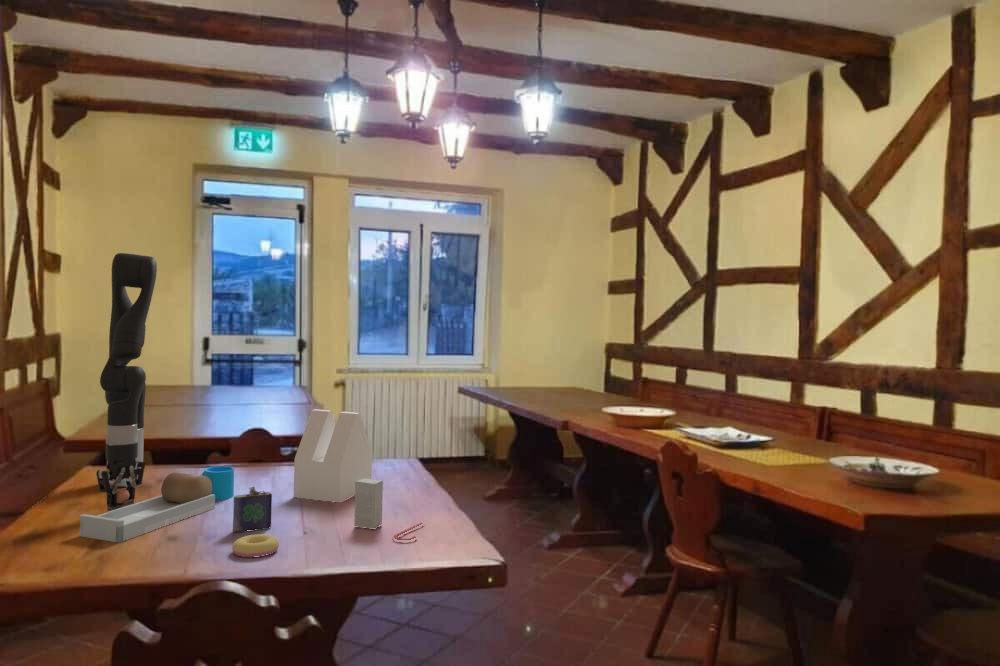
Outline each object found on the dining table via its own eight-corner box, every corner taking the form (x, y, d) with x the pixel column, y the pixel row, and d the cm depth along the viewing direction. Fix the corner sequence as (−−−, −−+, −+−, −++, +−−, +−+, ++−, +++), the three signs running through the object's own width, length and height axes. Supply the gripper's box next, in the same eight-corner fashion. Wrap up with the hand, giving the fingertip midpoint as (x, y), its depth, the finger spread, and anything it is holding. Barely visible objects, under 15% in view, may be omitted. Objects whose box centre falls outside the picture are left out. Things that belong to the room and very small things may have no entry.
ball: (108, 504, 186) (108, 489, 186) (121, 500, 190) (121, 486, 190) (120, 506, 185) (120, 491, 185) (132, 502, 189) (133, 487, 189)
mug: (239, 496, 208) (240, 468, 208) (216, 502, 201) (216, 473, 201) (212, 490, 214) (213, 463, 214) (188, 495, 207) (189, 467, 207)
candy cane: (439, 531, 183) (440, 525, 183) (408, 546, 170) (408, 540, 170) (420, 527, 186) (420, 521, 186) (387, 542, 172) (387, 536, 172)
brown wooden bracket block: (107, 512, 187) (107, 499, 187) (116, 509, 190) (116, 497, 190) (124, 515, 185) (125, 502, 185) (134, 512, 188) (134, 499, 188)
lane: (79, 536, 168) (80, 496, 168) (179, 503, 198) (180, 469, 198) (119, 542, 164) (119, 501, 164) (214, 508, 195) (215, 473, 194)
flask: (233, 533, 174) (234, 490, 173) (231, 530, 176) (232, 487, 176) (272, 529, 178) (273, 486, 178) (269, 525, 181) (270, 484, 181)
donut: (233, 558, 164) (235, 565, 155) (230, 538, 164) (232, 544, 155) (277, 546, 168) (282, 553, 159) (274, 527, 168) (278, 533, 159)
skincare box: (382, 526, 184) (383, 480, 184) (374, 530, 180) (375, 483, 180) (361, 523, 186) (363, 477, 186) (353, 527, 182) (354, 481, 182)
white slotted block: (339, 503, 204) (341, 417, 203) (293, 497, 209) (295, 413, 208) (371, 488, 222) (373, 409, 222) (328, 483, 227) (330, 406, 226)
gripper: (132, 435, 195) (131, 496, 196) (87, 444, 182) (86, 509, 182) (154, 438, 193) (153, 499, 193) (110, 446, 179) (109, 513, 180)
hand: (120, 504), depth 188 cm, fingers open, 5 cm apart
